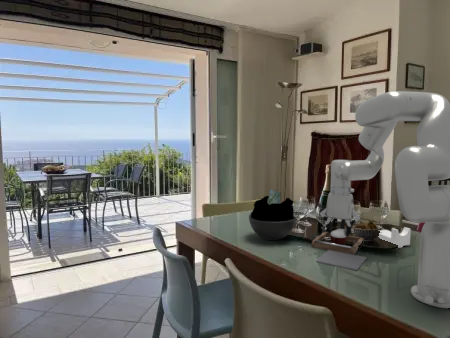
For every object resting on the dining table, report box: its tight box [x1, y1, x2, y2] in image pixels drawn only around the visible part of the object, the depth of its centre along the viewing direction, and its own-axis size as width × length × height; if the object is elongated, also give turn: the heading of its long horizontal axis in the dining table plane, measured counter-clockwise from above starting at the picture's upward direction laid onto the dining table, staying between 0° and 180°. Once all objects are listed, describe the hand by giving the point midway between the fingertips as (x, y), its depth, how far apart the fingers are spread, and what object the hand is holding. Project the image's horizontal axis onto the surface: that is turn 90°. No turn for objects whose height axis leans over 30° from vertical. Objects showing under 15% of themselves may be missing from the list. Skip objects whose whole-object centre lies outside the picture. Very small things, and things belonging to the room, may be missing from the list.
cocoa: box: [330, 219, 347, 245], centre depth 139 cm, size 10×6×12 cm, turn 115°
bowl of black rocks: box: [248, 195, 297, 241], centre depth 148 cm, size 20×20×19 cm
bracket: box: [378, 226, 412, 249], centre depth 145 cm, size 13×7×8 cm, turn 17°
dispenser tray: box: [311, 231, 364, 255], centre depth 140 cm, size 16×16×3 cm
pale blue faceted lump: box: [267, 189, 282, 205], centre depth 186 cm, size 18×20×18 cm
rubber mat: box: [315, 250, 367, 272], centre depth 124 cm, size 14×14×1 cm
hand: (338, 233), depth 140 cm, fingers closed on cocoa, 6 cm apart
